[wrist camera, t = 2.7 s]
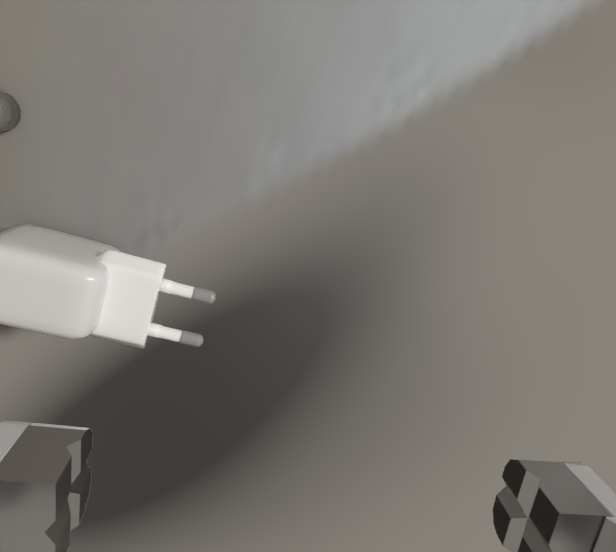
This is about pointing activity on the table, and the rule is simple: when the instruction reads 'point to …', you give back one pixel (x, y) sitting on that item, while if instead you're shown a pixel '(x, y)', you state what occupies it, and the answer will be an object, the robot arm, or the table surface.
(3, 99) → the steel pins
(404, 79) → the table surface
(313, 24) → the table surface
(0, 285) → the power adapter
